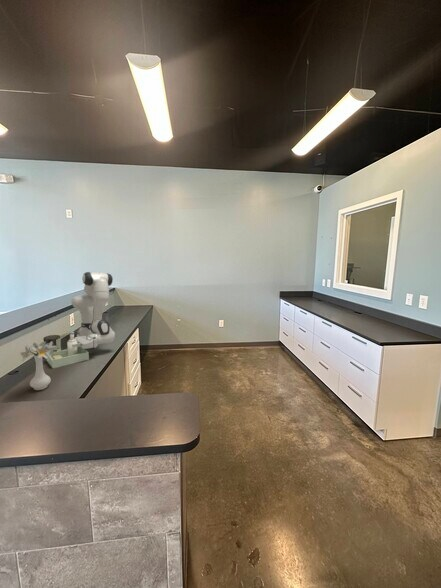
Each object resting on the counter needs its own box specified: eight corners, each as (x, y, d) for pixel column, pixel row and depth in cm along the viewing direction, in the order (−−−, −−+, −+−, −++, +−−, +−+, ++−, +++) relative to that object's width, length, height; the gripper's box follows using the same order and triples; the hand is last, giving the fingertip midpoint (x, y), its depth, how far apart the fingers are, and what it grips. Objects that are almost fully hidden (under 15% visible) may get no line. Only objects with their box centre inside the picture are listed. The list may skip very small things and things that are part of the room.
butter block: (53, 361, 169) (53, 356, 168) (60, 360, 172) (59, 354, 171) (56, 365, 164) (55, 359, 164) (63, 363, 167) (62, 357, 166)
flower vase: (61, 378, 147) (59, 337, 144) (44, 395, 129) (41, 349, 126) (37, 379, 145) (34, 338, 142) (16, 396, 127) (12, 349, 124)
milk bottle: (66, 357, 174) (65, 332, 172) (76, 355, 179) (75, 330, 176) (69, 360, 170) (68, 333, 168) (79, 357, 174) (78, 332, 172)
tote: (47, 362, 170) (46, 353, 169) (81, 354, 185) (81, 346, 185) (52, 369, 159) (52, 360, 158) (88, 360, 175) (88, 352, 174)
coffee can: (49, 359, 174) (48, 340, 172) (41, 356, 179) (40, 337, 177) (64, 354, 183) (63, 336, 181) (56, 352, 188) (55, 334, 186)
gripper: (86, 332, 189) (66, 336, 179) (97, 339, 175) (75, 343, 165) (87, 340, 190) (66, 345, 180) (97, 348, 176) (75, 352, 166)
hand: (70, 344), depth 172 cm, fingers closed on milk bottle, 6 cm apart
